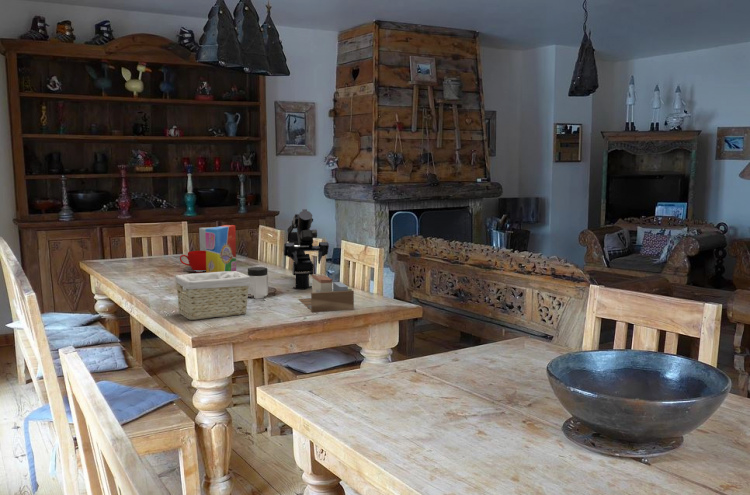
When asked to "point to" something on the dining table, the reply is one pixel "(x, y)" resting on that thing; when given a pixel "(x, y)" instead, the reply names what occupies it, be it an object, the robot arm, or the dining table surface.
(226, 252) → the game box
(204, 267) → the ceramic cup
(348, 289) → the small books
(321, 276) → the boxed book
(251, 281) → the jar
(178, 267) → the dining table surface
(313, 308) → the shelf
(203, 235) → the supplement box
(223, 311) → the storage basket
